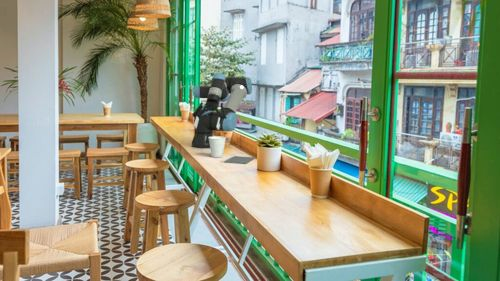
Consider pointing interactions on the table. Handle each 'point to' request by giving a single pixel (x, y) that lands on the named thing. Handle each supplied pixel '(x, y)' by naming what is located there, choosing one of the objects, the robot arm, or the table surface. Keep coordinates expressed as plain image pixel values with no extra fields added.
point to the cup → (217, 146)
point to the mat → (239, 160)
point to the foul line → (227, 158)
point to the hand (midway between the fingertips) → (206, 128)
